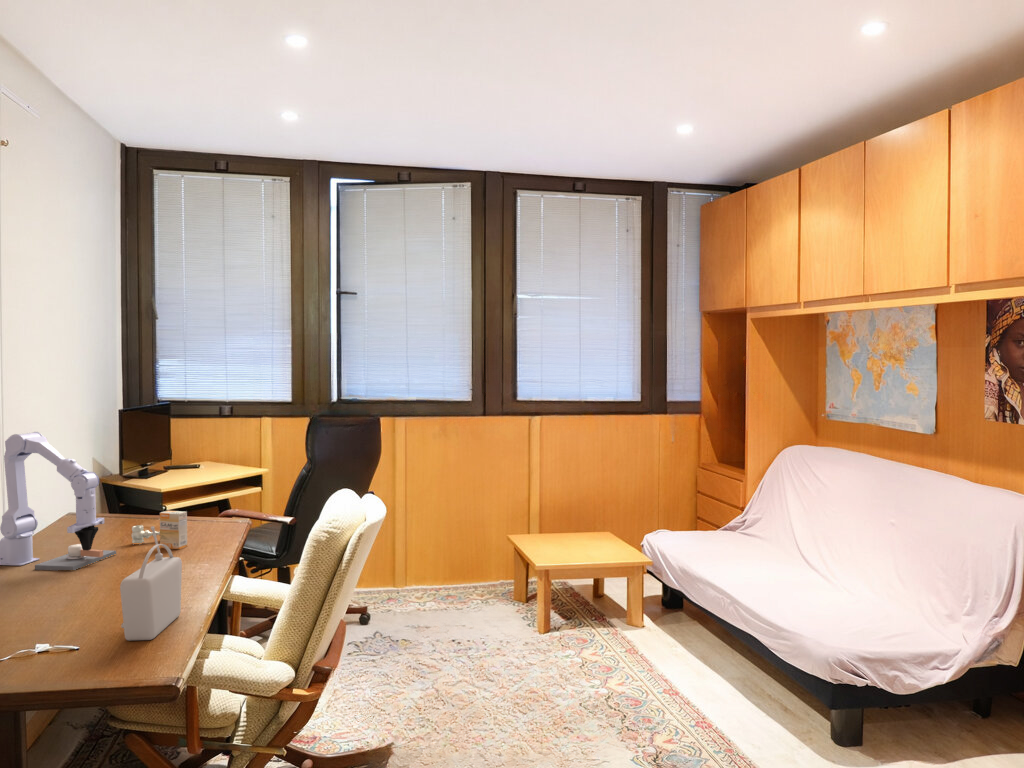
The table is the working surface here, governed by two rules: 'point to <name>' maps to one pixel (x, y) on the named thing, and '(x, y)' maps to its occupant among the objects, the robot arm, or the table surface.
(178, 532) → the supplement box
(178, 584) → the grey handbag
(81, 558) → the base plate
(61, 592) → the table surface
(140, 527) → the valve
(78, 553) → the handle
